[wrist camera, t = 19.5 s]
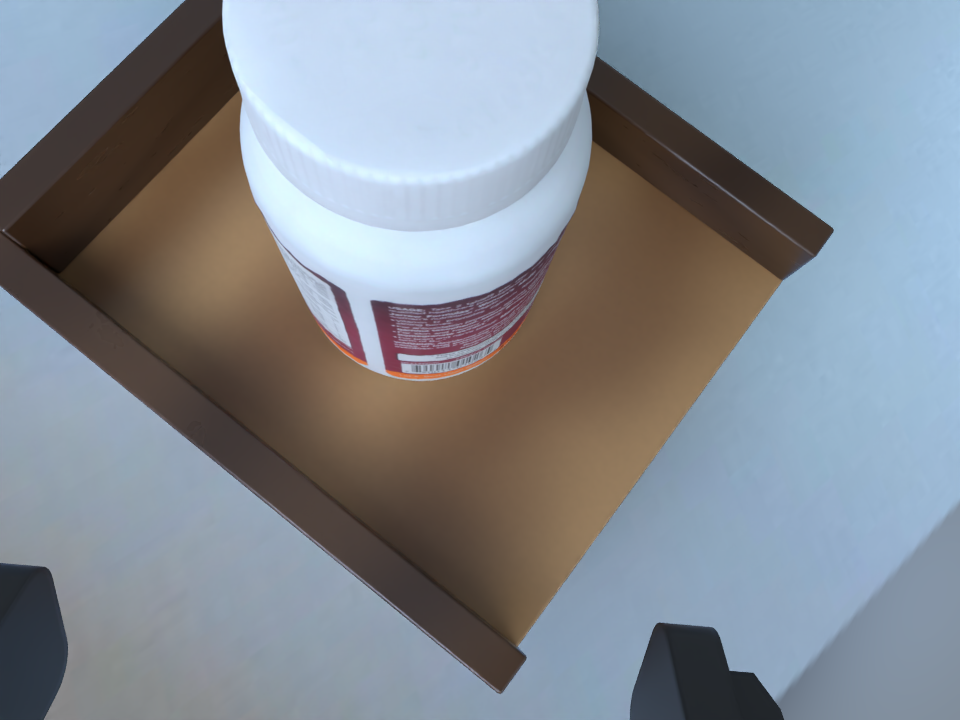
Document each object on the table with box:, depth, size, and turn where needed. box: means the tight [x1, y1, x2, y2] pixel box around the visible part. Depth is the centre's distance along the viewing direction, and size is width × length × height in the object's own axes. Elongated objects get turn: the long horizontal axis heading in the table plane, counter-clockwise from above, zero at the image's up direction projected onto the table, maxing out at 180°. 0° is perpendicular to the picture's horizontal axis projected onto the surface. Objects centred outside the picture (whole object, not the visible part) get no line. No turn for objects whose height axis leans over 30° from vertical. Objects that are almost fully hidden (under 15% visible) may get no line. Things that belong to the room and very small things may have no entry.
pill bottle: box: [222, 0, 600, 381], centre depth 17 cm, size 6×6×11 cm
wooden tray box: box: [0, 0, 834, 694], centre depth 25 cm, size 16×14×12 cm
